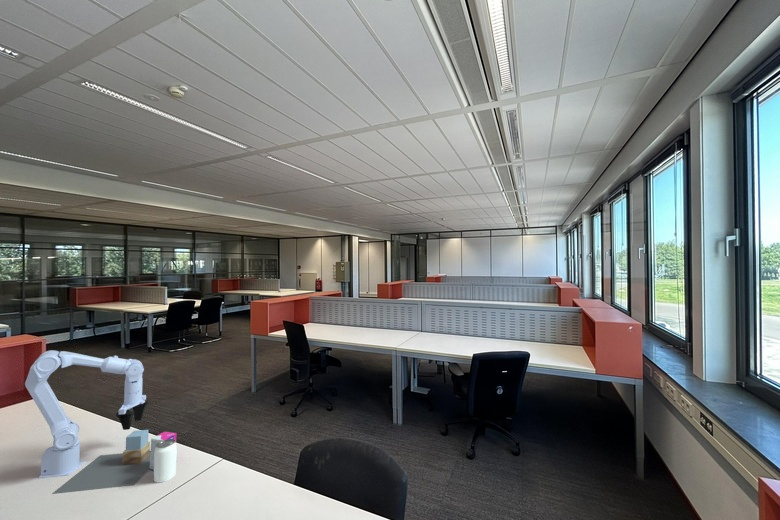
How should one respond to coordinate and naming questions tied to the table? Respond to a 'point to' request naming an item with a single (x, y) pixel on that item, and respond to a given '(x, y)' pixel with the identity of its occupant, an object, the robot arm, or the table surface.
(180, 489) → the table surface
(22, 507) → the table surface
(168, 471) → the can
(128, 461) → the slab lower
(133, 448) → the cube
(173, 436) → the supplement box
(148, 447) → the slab upper
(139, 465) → the mat
